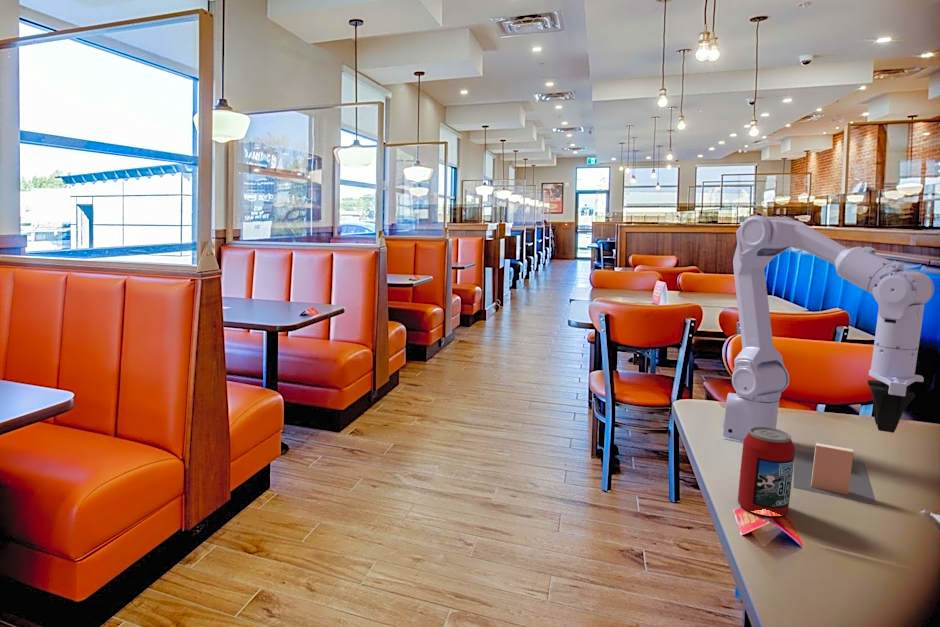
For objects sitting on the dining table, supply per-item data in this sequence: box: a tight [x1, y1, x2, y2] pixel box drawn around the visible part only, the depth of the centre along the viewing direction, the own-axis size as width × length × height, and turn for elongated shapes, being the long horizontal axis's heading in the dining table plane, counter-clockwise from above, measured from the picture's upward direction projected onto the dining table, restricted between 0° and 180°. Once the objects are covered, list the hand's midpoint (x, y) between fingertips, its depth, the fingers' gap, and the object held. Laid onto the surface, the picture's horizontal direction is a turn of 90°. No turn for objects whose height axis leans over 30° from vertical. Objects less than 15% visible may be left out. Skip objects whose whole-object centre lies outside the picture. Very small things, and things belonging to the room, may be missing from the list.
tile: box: [811, 442, 854, 495], centre depth 92 cm, size 5×1×7 cm, turn 60°
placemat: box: [793, 449, 877, 506], centre depth 98 cm, size 11×19×1 cm, turn 150°
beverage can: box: [737, 427, 796, 517], centre depth 85 cm, size 7×7×12 cm
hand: (884, 428), depth 93 cm, fingers open, 3 cm apart
